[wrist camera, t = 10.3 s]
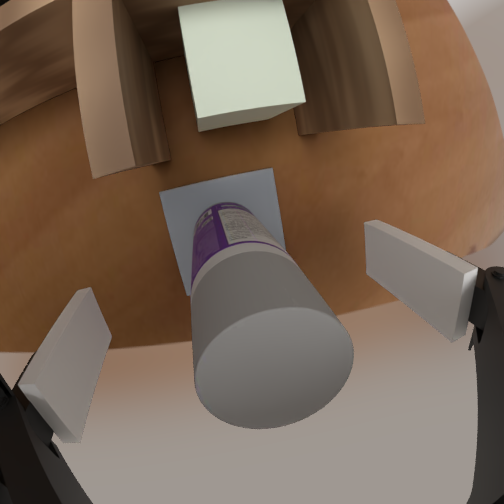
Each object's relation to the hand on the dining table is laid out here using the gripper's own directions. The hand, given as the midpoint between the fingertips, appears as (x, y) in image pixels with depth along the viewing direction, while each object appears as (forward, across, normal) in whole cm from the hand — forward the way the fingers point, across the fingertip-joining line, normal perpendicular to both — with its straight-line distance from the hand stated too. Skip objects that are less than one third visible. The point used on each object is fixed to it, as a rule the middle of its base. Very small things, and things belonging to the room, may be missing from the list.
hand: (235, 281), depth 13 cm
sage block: (+10, +3, +10) cm, 14 cm away
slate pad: (+9, +1, 0) cm, 9 cm away
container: (+9, 0, 0) cm, 9 cm away
